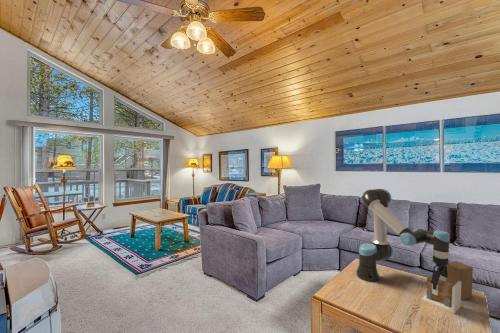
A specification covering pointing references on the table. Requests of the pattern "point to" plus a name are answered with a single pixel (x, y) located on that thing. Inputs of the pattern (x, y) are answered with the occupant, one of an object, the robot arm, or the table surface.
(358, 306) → the table surface
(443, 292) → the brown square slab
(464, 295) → the wooden block
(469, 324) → the table surface
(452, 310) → the l-bracket with handles
